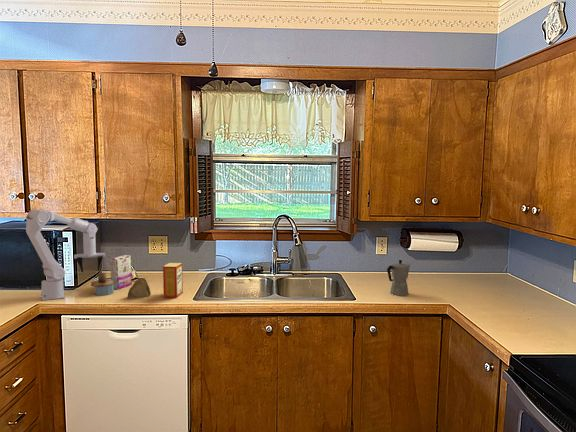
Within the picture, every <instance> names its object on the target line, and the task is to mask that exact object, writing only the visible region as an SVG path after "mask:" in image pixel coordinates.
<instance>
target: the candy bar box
mask: <svg viewBox="0 0 576 432" xmlns="http://www.w3.org/2000/svg"><path fill="white" fill-rule="evenodd" d="M109 263H110V268H109V270H110V280H113V284H114V290H120V289H124V288H127V287H129V286H131V285H132V286H133V278H132V277H133V276H132V274H133V273H132V255H128V254H124V255H120V256H117V257H116V256H115V257H112V258H110V259H109Z"/></svg>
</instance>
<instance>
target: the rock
mask: <svg viewBox="0 0 576 432" xmlns="http://www.w3.org/2000/svg"><path fill="white" fill-rule="evenodd" d="M148 283H149V282H148V281H147V280H146V278H145V277H139V278H138V279H136V280H135V281H134V283H132V286H131V287H129V290H128V293H127V297H126V298H127V299H133V298H144V297H149V296H151V295H152V293H151V290H150V286H149V284H148Z"/></svg>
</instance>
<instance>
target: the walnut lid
mask: <svg viewBox="0 0 576 432" xmlns="http://www.w3.org/2000/svg"><path fill="white" fill-rule="evenodd" d="M97 277H98V279H97V280H94V281H92V282H90V286H91V287H94V288H95V287H106V286H110V285H113V280H111V279H107V273H106V272H99V273H98V274H97Z"/></svg>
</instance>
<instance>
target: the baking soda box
mask: <svg viewBox="0 0 576 432" xmlns="http://www.w3.org/2000/svg"><path fill="white" fill-rule="evenodd" d="M162 268H163V269H162V278H163V281H162V283H163V285H162V287H163V298H164V299H177V298H178V297H180V296H181V295H182V294H184V293H183V290H184V289H183V285H184V284H183V263H182V262H168V263H165V265H163V266H162Z"/></svg>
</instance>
